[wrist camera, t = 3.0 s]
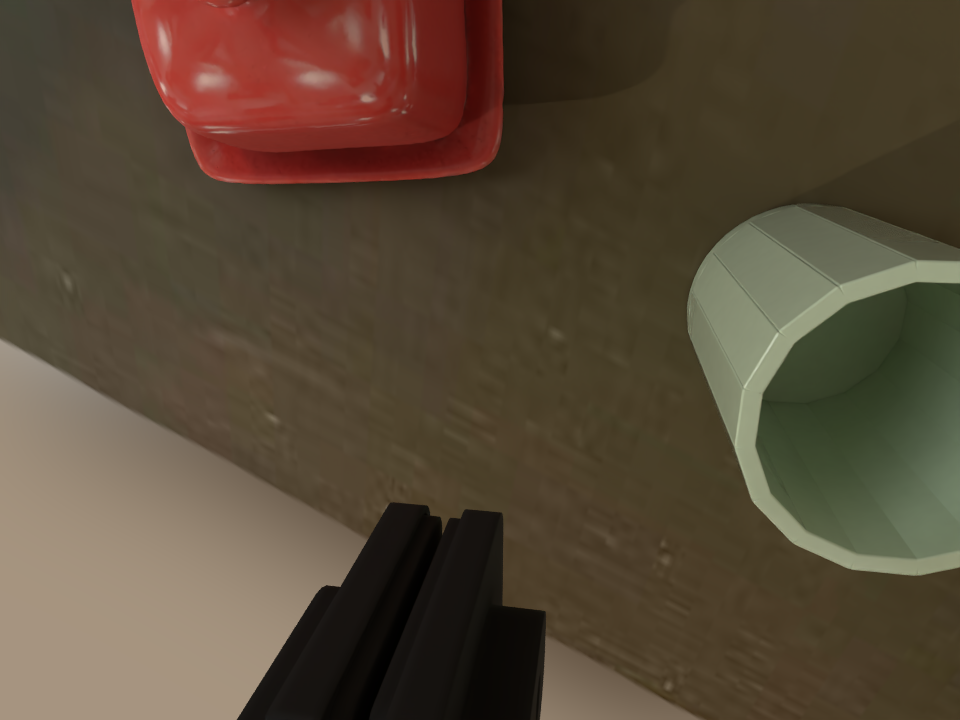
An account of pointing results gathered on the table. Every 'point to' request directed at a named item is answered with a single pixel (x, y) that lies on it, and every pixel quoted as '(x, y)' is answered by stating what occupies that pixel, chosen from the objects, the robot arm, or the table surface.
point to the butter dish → (330, 86)
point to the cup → (839, 381)
